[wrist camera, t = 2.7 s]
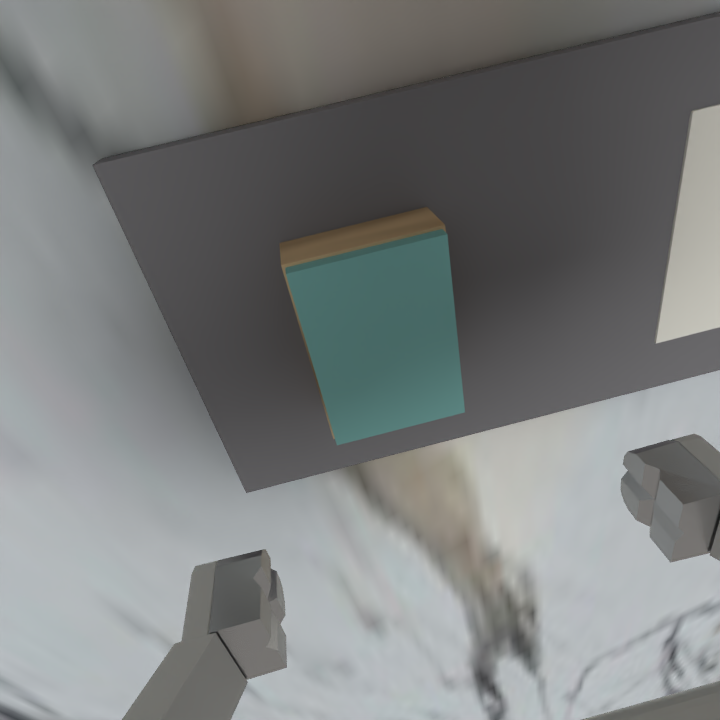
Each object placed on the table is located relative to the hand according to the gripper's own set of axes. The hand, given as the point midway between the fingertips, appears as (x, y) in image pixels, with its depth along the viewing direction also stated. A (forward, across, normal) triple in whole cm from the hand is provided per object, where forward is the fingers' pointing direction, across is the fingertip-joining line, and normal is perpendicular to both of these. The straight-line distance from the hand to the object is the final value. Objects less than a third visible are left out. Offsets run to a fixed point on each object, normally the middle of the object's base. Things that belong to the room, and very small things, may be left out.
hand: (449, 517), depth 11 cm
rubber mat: (+10, -8, -1) cm, 13 cm away
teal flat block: (+9, 0, -1) cm, 9 cm away
